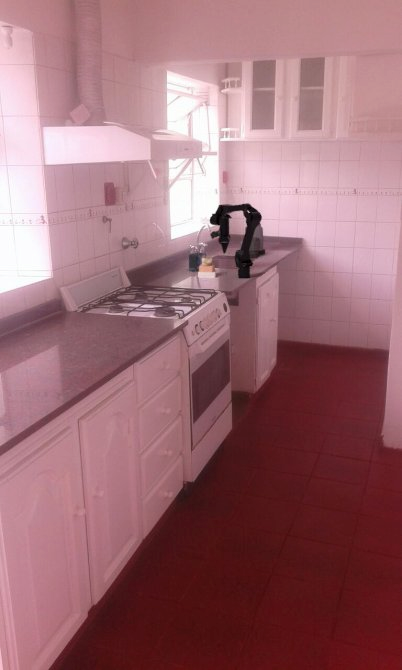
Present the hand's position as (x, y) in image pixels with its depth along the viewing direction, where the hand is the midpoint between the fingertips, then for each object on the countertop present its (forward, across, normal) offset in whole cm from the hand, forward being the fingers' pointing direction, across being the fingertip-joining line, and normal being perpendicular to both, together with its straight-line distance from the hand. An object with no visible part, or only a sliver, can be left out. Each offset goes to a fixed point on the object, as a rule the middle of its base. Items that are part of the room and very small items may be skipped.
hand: (224, 252), depth 366 cm
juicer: (+13, -76, +16) cm, 79 cm away
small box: (+13, -14, -18) cm, 26 cm away
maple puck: (+6, +7, -10) cm, 14 cm away
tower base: (+14, +7, -10) cm, 18 cm away
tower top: (+10, +7, -10) cm, 16 cm away
